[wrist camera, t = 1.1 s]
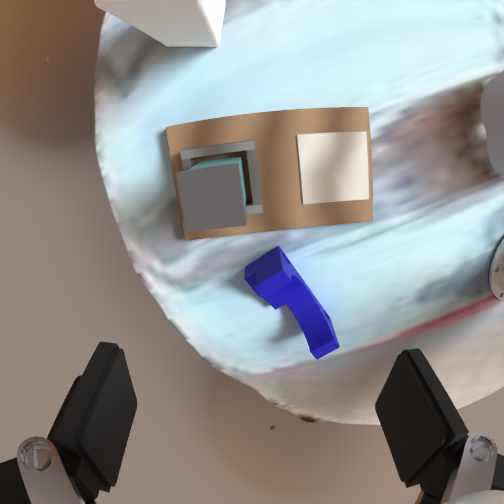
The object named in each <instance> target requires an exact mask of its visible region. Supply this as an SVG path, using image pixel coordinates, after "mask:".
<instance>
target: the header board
mask: <svg viewBox="0 0 504 504" xmlns="http://www.w3.org/2000/svg"><path fill="white" fill-rule="evenodd" d="M166 133H167V140H168V146H169V152H170V158H171V165H172V170H173V176H174V182H175V188H176V193H177V199H178V204H179V209H180V215H181V220H182V225H183V230H184V235H185V240H194V239H202V238H211V237H220V236H229V235H238V234H247V233H256V232H266V231H275V230H285V229H295V228H305V227H315V226H325V225H335V224H346V223H357V222H368V221H373V181H372V154H371V137H370V124H369V112H368V107H339V108H312V109H295V110H282V111H271V112H261V113H251V114H243V115H235V116H228V117H221V118H214V119H208V120H202V121H196V122H190V123H185V124H179V125H174V126H169V127H166ZM234 156H242V163H243V171H244V179H245V186H246V194H247V196H246V204H245V214H246V226H238V227H229V228H220V229H211V230H203V231H195V232H186V227H185V222H184V217H183V211H182V206H181V201H180V195H179V190H178V184H177V178H176V173H178V172H180V171H186V170H189V169H190V168H191V167H193V166H194V165H196V164H197V163H199V162H200V161H205V160H212V159H219V158H226V157H234Z"/></svg>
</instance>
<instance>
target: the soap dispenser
mask: <svg viewBox="0 0 504 504" xmlns="http://www.w3.org/2000/svg"><path fill="white" fill-rule="evenodd" d="M94 2H95V4H96V6H97V7H98V8H101V9H102V10H104V11H106V12H108V13H110V14H112V15H114V16H116V17H118V18H119V19H121V20H123V21H125V22H127V23H128V24H130V25H132V26H134V27H135V28H137V29H139V30H141V31H142V32H144V33H146V34H147V35H149V36H151V37H152V38H154V39H156V40H157V41H159V42H160V43H162V44H164V45H165V46H167V47H218V46H219V44H220V38H221V31H222V24H223V18H224V11H225V5H226V2H225V0H94Z"/></svg>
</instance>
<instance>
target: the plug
mask: <svg viewBox="0 0 504 504" xmlns="http://www.w3.org/2000/svg"><path fill="white" fill-rule="evenodd" d="M176 178H177V184H178V190H179V195H180V201H181V206H182V211H183V217H184V222H185V227H186V232H195V231H203V230H211V229H220V228H229V227H238V226H246V214H245V204H246V196H247V194H246V186H245V179H244V171H243V163H242V156H234V157H226V158H219V159H212V160H205V161H200V162H199V163H197V164H196V165H194V166H193V167H191V168H190V169H189V170H186V171H180V172H178V173H176Z"/></svg>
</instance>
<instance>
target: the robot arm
mask: <svg viewBox="0 0 504 504" xmlns="http://www.w3.org/2000/svg"><path fill="white" fill-rule="evenodd" d="M489 284H490V289H491V291H492V293H493V294H494V295H495V296H496V297H497V298H498V299H500V300H503V301H504V238H503V240H502V241H501V243H500V245H499V246H498V248H497V250H496V252H495V254H494V257H493V260H492V263H491V267H490V274H489ZM136 409H137V399H136V395H135V392H134V389H133V385H132V381H131V378H130V374H129V370H128V367H127V363H126V359H125V355H124V351H123V349H120V348H119V347H118V345H117V344H114V343H108V342H100V343H99V344H98V346H97V348H96V350H95V352H94V353H93V355H92V357H91V359H90V361H89V363H88V365H87V367H86V369H85V371H84V373H83V375H82V376H78V377H77V378H76V379H75V381H74V383H73V385H72V387H71V389H70V391H69V393H68V395H67V397H66V399H65V401H64V403H63V405H62V407H61V409H60V411H59V413H58V415H57V417H56V419H55V422H54V424H53V426H52V428H51V430H50V433H49V435H48V437H47V439H45V438H43V437H38V436H36V437H30V438H28V439H26V440H25V441H24V442H23V443H21V444H20V446H19V448H18V451H17V457H16V458H14V459H11V460H8V461H5V462H2V463H0V504H99V503H98V501H97V499H96V498H97V497H98V493H99V490H102V491H106V492H110V488H111V486H113V487H114V486H115V484H116V482H117V479H118V474H119V470H120V467H121V462H122V459H123V455H124V452H125V448H126V444H127V440H128V437H129V433H130V430H131V426H132V423H133V419H134V416H135V412H136ZM375 410H376V413H377V416H378V418H379V421H380V424H381V426H382V429H383V431H384V434H385V437H386V440H387V443H388V445H389V448H390V451H391V454H392V457H393V460H394V462H395V465H396V468H397V471H398V474H399V477H400V479H401V481H402V482H405V485H406V487H407V488H408V487H411V486H414V485H418V484H420V487H421V491H420V493H419V496H418V498H417V500H416V502H415V504H504V456H502V455H500V454H497V446H496V443H495V442H494V440H493V439H492V438H491V437H490V436H489V435H487V434H485V433H474V434H472V435H471V436H470V437H469V436H468V435H467V433H468V432H469V431H468V429H467V428H466V426H465V424H464V422H463V420H462V418H461V417H460V415H459V413H458V411H457V410H456V408H455V406H454V404H453V403H452V401H451V399H450V397H449V396H448V394H447V392H446V391H445V389H444V387H443V385H442V384H441V382H440V381H439V379H438V377H437V376H436V374H435V372H434V371H433V369H432V367H431V366H430V364H429V363H428V361H427V359H426V358H425V356H424V355H423V353H422V352H421V350H420V349H418V348H417V349H408V350H403V351H402V353H401V354H399V355H398V357H397V359H396V361H395V363H394V366H393V368H392V370H391V372H390V374H389V377H388V379H387V381H386V383H385V385H384V387H383V389H382V391H381V393H380V395H379V397H378V399H377V401H376V404H375Z"/></svg>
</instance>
